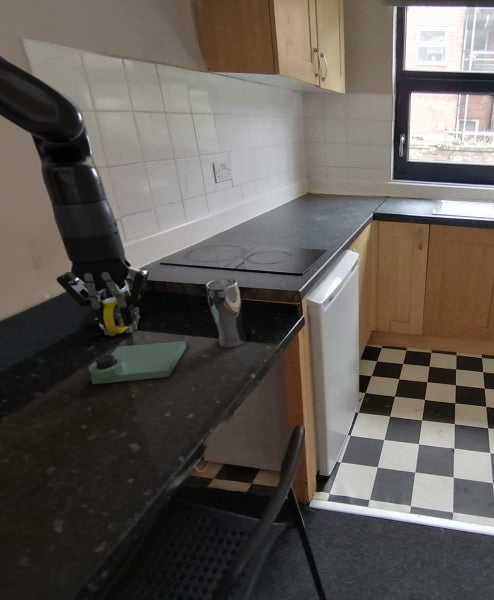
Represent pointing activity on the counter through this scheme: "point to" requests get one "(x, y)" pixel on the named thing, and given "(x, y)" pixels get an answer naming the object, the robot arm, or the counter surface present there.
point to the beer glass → (226, 311)
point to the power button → (105, 361)
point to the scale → (139, 362)
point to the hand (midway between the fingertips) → (119, 324)
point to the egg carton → (118, 316)
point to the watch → (109, 318)
